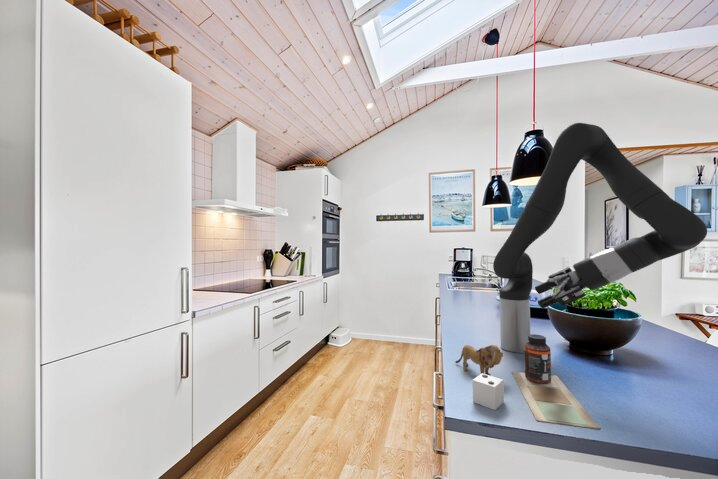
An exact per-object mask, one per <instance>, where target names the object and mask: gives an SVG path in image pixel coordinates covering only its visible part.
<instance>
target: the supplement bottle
mask: <svg viewBox="0 0 718 479" xmlns="http://www.w3.org/2000/svg"><path fill="white" fill-rule="evenodd" d="M528 340H529V342H527V343H526V344H525V346H524V353H523V354H524V373H525V377H526V378H527V379H528V380H530V381H532V382H535V383H541V384H547V383H550V382H551V375H552V359H551V354H552V353H551V347H550V346H549V345H548V344H547V338H546V336H544V335H541V334H532V333H531V335H528Z"/></svg>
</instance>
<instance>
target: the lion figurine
mask: <svg viewBox="0 0 718 479" xmlns="http://www.w3.org/2000/svg"><path fill="white" fill-rule="evenodd" d="M503 357H504V353H503V351H502V352H501V349H500V348H499V346H497V345H495V344H494V345H493V344H490V345H488V346H485V347H481V348H479V349H475V348H474V347H473V346H472V345H468V344H465V345H464V346H463V348H462V350H461V354H460V357H459V359H458V360H456V361H454V362H455V364H458V363H460V362H461V361H462V359H463V362H462V367H463V371H465V372H467V371H469V368H467V366H469V363H468V362H467V361H468V360H471V361H472V362H473V363H474V364H476V365H479V371H480V374H482V373H483V374H486V375H490V376H492V375H491V373H490V372H489V370H490V369H493V368H494V367H495V366H496V365H499V364H500V363H501V361H502V359H503Z"/></svg>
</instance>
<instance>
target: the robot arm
mask: <svg viewBox="0 0 718 479" xmlns="http://www.w3.org/2000/svg"><path fill="white" fill-rule="evenodd" d="M581 160H582V161H584V162H585V163H587V164H589V165H590V166H591V167H593V168H594V169H596V170H597V171H598V172H599V173H600V174H601V175H602V176H603V178H604V179H605V181H606V183H607V185H608V186H609V188H610V189H611V191H612V193H613V194H614V195H615V197H616V198H617V199H619V201H620V202H621V203H622V204H623V205H624V206H625V207H626V208H627V209H628V210H629V211H630V212H632V214H634V215H635V216H636V217H637V218H639V219H642V220H644V221H645V223H647V224H648V225H649V226H650V227H651V228H652V229H653V230H652V231H651V232H647V233H646V234H643V235H641V236H639V237H632V238H630V239H628V240H625V241H622V242H621V243H618V244H617V245H615V246H613V247H610V248H607V249H604V250H602V251H601V250H600V252H597V253H595V254H593V255H591V256H588V257H586V258H583V260H580V261H578V262H576V263H574V264H572V265H573V266H572V267H573V268H572V269H573V270H572V269H571V267H569V266H568V267H565V268H564V269H561V270H558V271H557V272H555V273H552V274H550V275H548V277H547V278H548V279H547V280H546V281H545V282H542V283H541V284H538V285H536V286H534V290H535V291H536V293H537V295H541V294H543V293H545V292H547V291H550V290H552V289H555V288H556V290H555V292H554V293H552V294H550V295H547V296H545V297H543V298H540V299H538V300H537V304H538V306H540V308H541V309H545V308H548V307H550V306H553V305H554V304H558V305H560V306H561V307H564V306H566V305H568V304H571V303H574V302H575V301H577V300H579V299H582V298H584V297H586V293H585V291H584V290H583V289H585V288H588V289H589V290H590V291H595V290H597V289H598V290H599V289H600V288H603V287H605V286H607V285H611V284H612V283H614V282H618V281H619V280H622V279H624V278H626V277H627V276H628V275H630V274H633V273H635V272H638V271H640V270H642V269H644V268H646V267H648V266H651V265H653V264H655V263H656V262H659V261H662V260H665V259H668V258H670V257H674V256H676V255H679V254H681V253H684V252H687V251H690V250H691V249H694V248H695V247H697V246H698V245H699V244H701V243H702V242H703V241H704V240H705V239H706V236H707V235H708V227H707V225H706V223H705V222H704V221H703V219H701V218H700V217H699V216H698V215H697V214H695V213H694V212H693V211H692V210H690V209H688V208H687V207H686V206H684V205H682V204H681V203H679V202H677V201H676V200H674V199H672V198H671V197H670V196H669V194H667V193H666V192H665V191H664V190H663V189H661V188H660V186H658V185H657V184H656V183H655V182H654V181H652V180H651V178H650V177H648V176H647V175H645V174H644V173H643V172H642V171H641V170H640V169H638V168H637V167H636V166H635V165H634V164H633V163H632V162H631V161H629V159H628V158H627V157H626V156H625V155H624V154H623V153H622V152H621V151H620V149H619V148H618V146H616V144H615V143H614V142H613V140H612V139H611V138H610V137H609V135H608V133H606V131H605V130H604V129H603V128H602V127H601V126H598V125H595V124H591V123H585V122H574V123H572V124H570V125H568V126H567V127H565V128H564V129H563V130H562V131H561V132H560V134H559V135H558V136H557V139H556V141H555V143H554V145H553V147H552V150H551V153H550V156H549V158H548V161H547V163H546V165H545V167H544V169H543V172H542V174H541V176H540V178H539V179H538V181H537V183H536V185H535V187H534V189H533V190H532V193H531V195H530V196H529V198H528V199H527V202H526V203H525V206H524V208H523V210H522V212H521V214H520V215H519V218H518V220H517V221H516V223H515V225H514V227H513V228H512V230H511V232H510V234H509V235H508V238H507V239H506V240H505V242H504V243H503V245H502V246H501V248H500V249H499V251H498V252H497V254H495V257H494V260H493V264H492V269H493V272H494V274H495V276H497V277H498V278H501V279H508V281H507V283H506V284H505V285H504V286H503V287H501V288H500V289H499V292H498V293H499V294H498V295H499V322H500V323H499V329H500V331H499V332H500V334H499V336H500V337H499V338H500V348H501V349H503V350H504V351H507V352H511V353H519V354H524V346H525V344H526V343H527V342H529V340H528V335H531V334H532V333H531V332H532V331H531V306H530V304H531V303H530V302H531V301H530V300H531V299H530V295H531V292H532V291H533V274H534V273H533V270H534V268H533V262H532V261H533V260H532V259H531V257H530V255H528V253H526V252H525V251H527V249H528V248H529V247H530V246H531V245H532V244H533V243H534V242H535V241H536V240H537V239H539V238H540V237H541V236H542V235H544V234H545V233H546V232H547V231H548V230H549V229H550V228H551V227H553V224H554V223H555V221H556V219H557V218H558V216H559V215H560V213H561V211H562V209H563V207H564V205H565V200H566V196H567V195H566V194H567V188H568V183H569V180H570V178H571V176H572V173H573V172H574V171H575V169H576V167H577V166H578V164H579V163H580V162H581Z"/></svg>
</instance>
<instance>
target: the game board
mask: <svg viewBox="0 0 718 479" xmlns="http://www.w3.org/2000/svg"><path fill="white" fill-rule="evenodd" d="M511 374H512V376H513V378H514V379H515V381H516V383H517V385H518V387H519V390H520V391H521V393H522V395H523V397H524V399H525V401H526V403H527V405H528V407H529V409H530V411H531V413H532V415H533V417H534V419H535V420H536V422H542V423H550V424H559V425H566V426H571V427H572V426H574V427H580V428H589V429H596V430H597V429H598V430H601V427H600V426H599V424H597V422H596V421H595V420H594V418H592V416H591V415H590V414H589V413H588V412H587V410H586V409H585V408H584V407H583V405H581V403H580V402H579V401H578V399H577V398H576V397H575V396H574V395H573V394H572V392H570V389H568V388H567V386H566V384H564V383H563V382H562V380H561V379H560V378H559V377H558V376H557V375H552V374H551V382H550V383H547V384H541V383H535V382H532V381H530V380H528V379H527V378H526V377H525V372H520V371H511Z"/></svg>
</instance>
